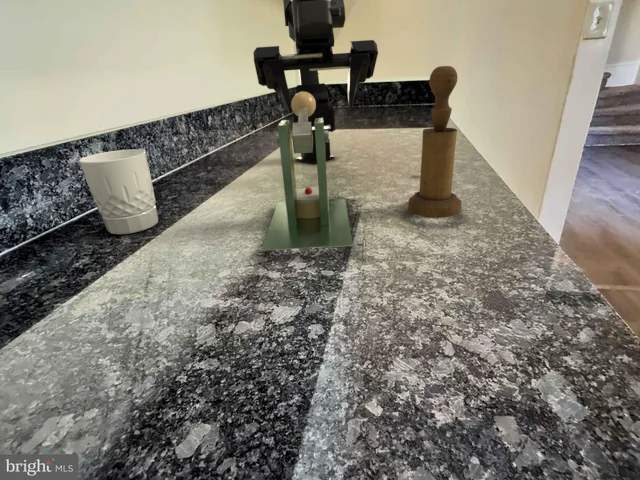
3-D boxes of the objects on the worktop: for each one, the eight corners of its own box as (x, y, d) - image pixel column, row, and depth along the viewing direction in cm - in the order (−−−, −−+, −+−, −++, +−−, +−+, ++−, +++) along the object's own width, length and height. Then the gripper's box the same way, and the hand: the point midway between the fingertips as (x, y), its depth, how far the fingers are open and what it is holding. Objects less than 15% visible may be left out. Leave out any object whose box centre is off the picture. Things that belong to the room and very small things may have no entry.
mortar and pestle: (462, 210, 49) (478, 63, 42) (457, 228, 44) (474, 64, 37) (413, 206, 52) (419, 67, 44) (402, 222, 47) (407, 68, 39)
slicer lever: (293, 111, 50) (290, 88, 48) (316, 109, 50) (314, 86, 47) (290, 157, 42) (286, 132, 40) (317, 155, 42) (315, 130, 40)
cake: (291, 206, 52) (289, 183, 50) (329, 204, 52) (328, 180, 50) (288, 220, 47) (285, 195, 45) (330, 218, 47) (329, 192, 45)
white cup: (174, 217, 54) (158, 149, 50) (134, 239, 47) (111, 162, 43) (133, 214, 57) (114, 149, 52) (89, 234, 50) (63, 161, 46)
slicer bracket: (278, 209, 54) (267, 116, 49) (345, 205, 54) (342, 111, 48) (262, 260, 40) (244, 135, 34) (353, 255, 40) (350, 128, 34)
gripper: (244, -18, 51) (250, 77, 47) (376, -26, 52) (393, 67, 48) (256, 44, 62) (261, 125, 57) (365, 37, 62) (378, 117, 58)
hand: (320, 109), depth 55 cm, fingers open, 9 cm apart
